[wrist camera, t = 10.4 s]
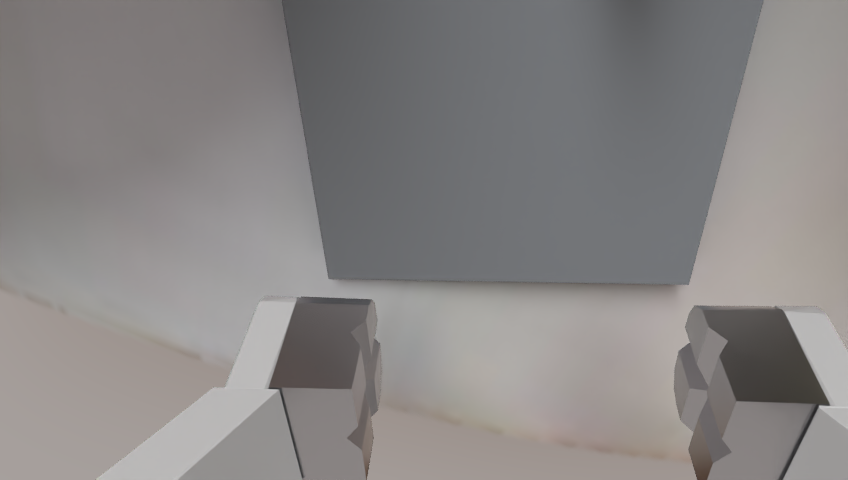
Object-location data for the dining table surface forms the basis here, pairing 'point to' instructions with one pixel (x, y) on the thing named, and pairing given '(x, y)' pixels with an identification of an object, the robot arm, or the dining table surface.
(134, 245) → the dining table surface
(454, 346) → the dining table surface
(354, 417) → the robot arm
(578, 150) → the slate mat
